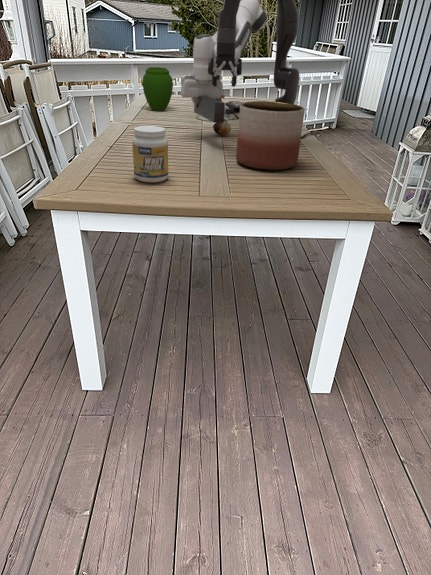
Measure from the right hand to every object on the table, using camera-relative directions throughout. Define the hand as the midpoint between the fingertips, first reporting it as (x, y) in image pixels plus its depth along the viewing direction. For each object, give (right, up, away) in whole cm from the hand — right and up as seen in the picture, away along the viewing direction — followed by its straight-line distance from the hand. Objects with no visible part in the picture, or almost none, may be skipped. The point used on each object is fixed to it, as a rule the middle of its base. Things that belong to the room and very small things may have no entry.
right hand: (224, 86), depth 172 cm
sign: (+12, +41, +115) cm, 123 cm away
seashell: (0, -6, +40) cm, 41 cm away
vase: (-41, +32, +96) cm, 110 cm away
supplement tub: (-27, -45, -25) cm, 58 cm away
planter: (+17, -33, -1) cm, 37 cm away
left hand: (-10, +2, +25) cm, 27 cm away
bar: (-7, -5, +19) cm, 21 cm away
